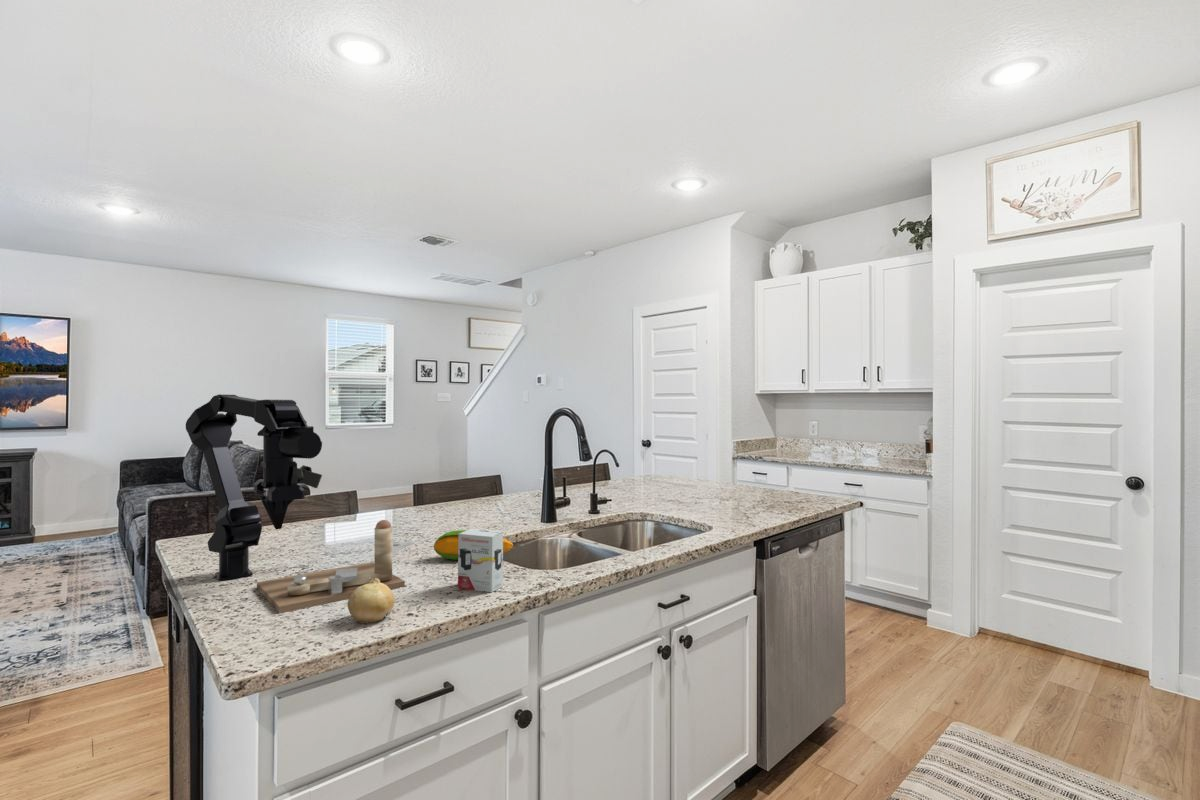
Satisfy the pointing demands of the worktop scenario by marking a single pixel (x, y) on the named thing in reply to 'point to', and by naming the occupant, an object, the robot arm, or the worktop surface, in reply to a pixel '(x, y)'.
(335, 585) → the keeper
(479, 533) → the ink box
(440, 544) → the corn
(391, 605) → the onion
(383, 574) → the wooden crank lever
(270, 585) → the walnut board
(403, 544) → the adjustable wrench
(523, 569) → the worktop surface
